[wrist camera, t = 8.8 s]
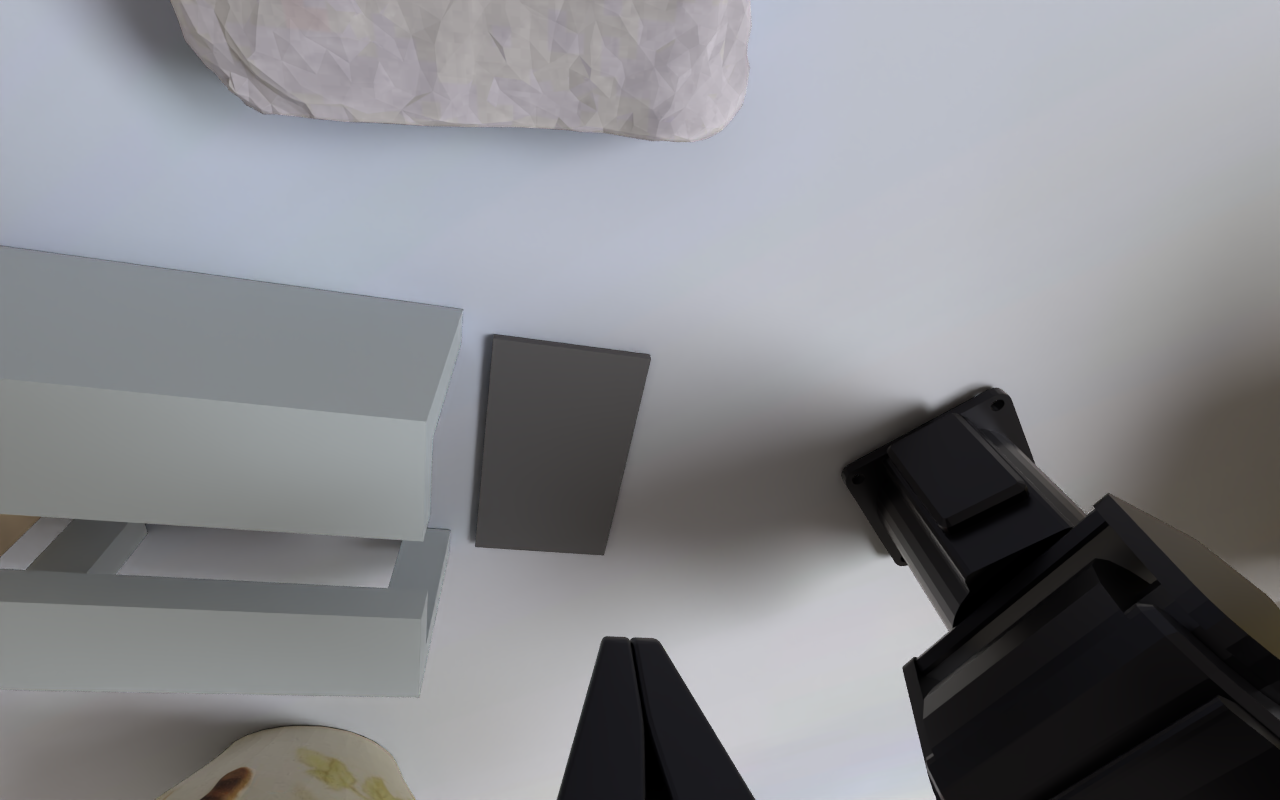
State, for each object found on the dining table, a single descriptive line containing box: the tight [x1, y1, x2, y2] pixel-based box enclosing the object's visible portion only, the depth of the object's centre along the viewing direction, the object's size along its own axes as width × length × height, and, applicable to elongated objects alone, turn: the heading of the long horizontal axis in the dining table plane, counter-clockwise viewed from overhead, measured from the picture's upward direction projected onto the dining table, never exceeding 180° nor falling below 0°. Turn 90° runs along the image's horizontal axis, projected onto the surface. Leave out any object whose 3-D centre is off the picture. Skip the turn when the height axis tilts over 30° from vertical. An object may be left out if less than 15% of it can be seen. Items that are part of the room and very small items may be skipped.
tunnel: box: [0, 246, 463, 698], centre depth 18 cm, size 12×10×6 cm
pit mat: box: [475, 334, 651, 555], centre depth 22 cm, size 5×9×1 cm, turn 168°
